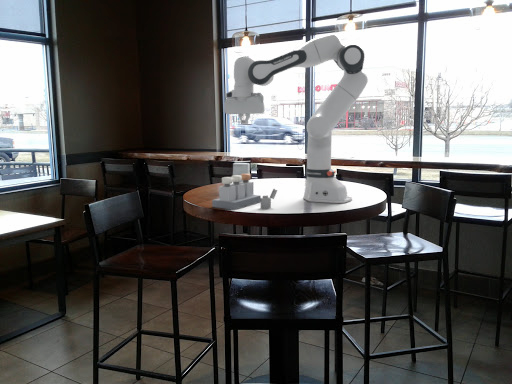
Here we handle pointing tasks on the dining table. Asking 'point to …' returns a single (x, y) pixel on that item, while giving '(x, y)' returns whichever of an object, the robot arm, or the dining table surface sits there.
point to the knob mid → (236, 179)
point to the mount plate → (236, 196)
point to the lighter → (268, 199)
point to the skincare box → (241, 169)
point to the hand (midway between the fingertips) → (244, 124)
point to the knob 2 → (245, 177)
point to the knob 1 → (226, 181)
